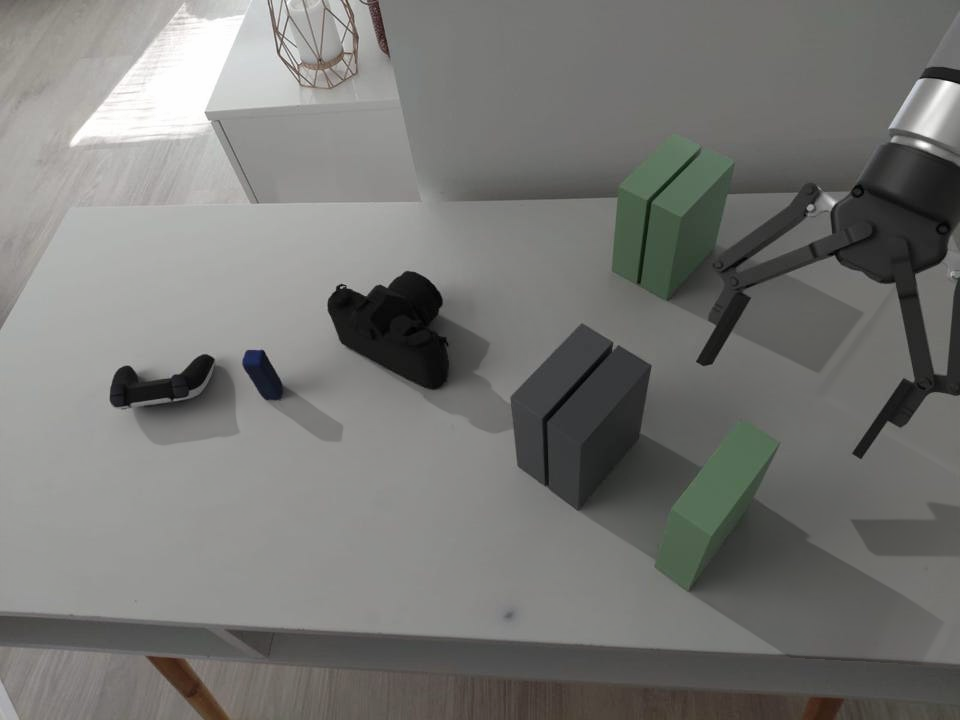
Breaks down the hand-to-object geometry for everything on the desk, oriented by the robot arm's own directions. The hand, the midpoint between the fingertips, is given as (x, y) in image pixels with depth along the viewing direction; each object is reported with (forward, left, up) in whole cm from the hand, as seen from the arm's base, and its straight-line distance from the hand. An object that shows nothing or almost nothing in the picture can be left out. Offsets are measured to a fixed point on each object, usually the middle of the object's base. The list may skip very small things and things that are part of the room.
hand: (777, 406), depth 61 cm
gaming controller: (+47, +39, -13) cm, 63 cm away
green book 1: (+26, -14, -13) cm, 33 cm away
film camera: (+35, +15, -13) cm, 41 cm away
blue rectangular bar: (+39, +30, -13) cm, 51 cm away
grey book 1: (+14, +10, -13) cm, 22 cm away
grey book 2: (+10, +10, -13) cm, 19 cm away
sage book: (-1, +8, -13) cm, 15 cm away
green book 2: (+22, -15, -13) cm, 30 cm away
